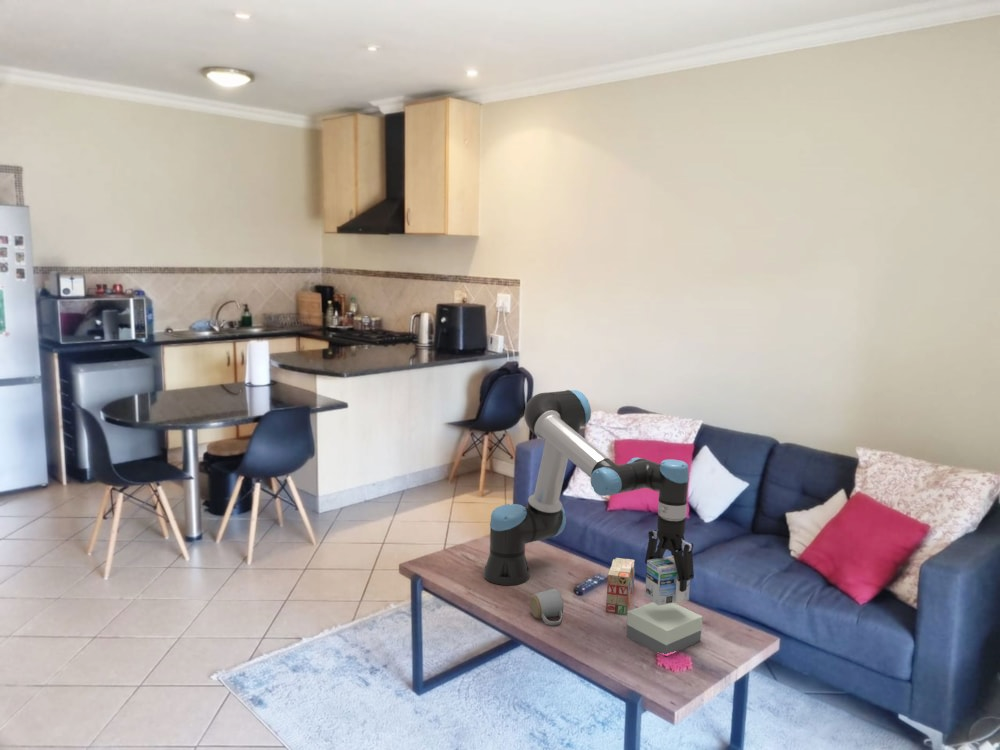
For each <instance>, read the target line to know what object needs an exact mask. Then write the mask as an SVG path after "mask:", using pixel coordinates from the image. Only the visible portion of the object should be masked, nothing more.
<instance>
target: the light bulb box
mask: <svg viewBox="0 0 1000 750" xmlns="http://www.w3.org/2000/svg"><path fill="white" fill-rule="evenodd" d="M645 572H646V574H645V575H646V576H645V590H644V591H645V592H644V597H646V598H648V600H650V601H651V602H654V603H655V604H657V605H658V606H659V605H665V604H671V603H675V604H677V603H676V602H675V596H676V580H677V579H679V576H678V572H677V568H676V564H675V560H674V557H673V556H672V555H671V556H665V557H662V558H658V559H651V560H647V564H646V571H645ZM690 585H691V580H688V581H687V588H686V591H684V601H681V602H685V601H687V602H688V601H690ZM681 602H680V603H681Z"/></svg>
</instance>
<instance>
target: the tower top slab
mask: <svg viewBox="0 0 1000 750" xmlns="http://www.w3.org/2000/svg"><path fill="white" fill-rule="evenodd" d="M703 618H704V616H703V615H701V614H698V613H696V612H694V611H693V610H690V609H687V608H685V607H684V606H681V605H679V604H678V603H671V604H665V605H659V606H658V605H657V604H655V603H654V602H653V601H651V602H649V603H646V604H644V605H641V606H639V607H636V608H633V609H630V610H628V611H627V622H626V623H627V624H626V626H627V625H629V626H631V627H633V628H634V629H636V630H638V631H640V632H642V633H644V634H646V635H648V636H650V637H651V638H653V639H655V640H657V641H659V642H661V643H663V644H665V645H668V644H670V643H673V642H675V641H677V640H680V639H682V638H684V637H687V636H689V635H691V634H694V633H696V632H698V631H701V632H702V629H703Z"/></svg>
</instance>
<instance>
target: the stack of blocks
mask: <svg viewBox="0 0 1000 750" xmlns="http://www.w3.org/2000/svg"><path fill="white" fill-rule="evenodd" d="M635 561H636V560H635V559H632V558H631V559H630V558H620V557H615V559H614V558H613V559H612V562H611V566H610V568H609V571H608V574H607V584H606V585H607V588H606V589H607V590H606V594H607V595H606V606H605V607H606V608H605V609H606V610H605V612H606V613H610V614H611V613H612V614H617V615H626V616H628V611H629V607H630V606H631V605H630V604H631V598H632V594H633V592H634V587H635V572H636V571H635Z"/></svg>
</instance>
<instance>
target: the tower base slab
mask: <svg viewBox="0 0 1000 750" xmlns="http://www.w3.org/2000/svg"><path fill="white" fill-rule="evenodd" d="M701 636H702V630H701V631H698V632H696V633H694V634H691V635H689V636H687V637H684V638H682V639H680V640H677V641H675V642H673V643H670V644H668V645H665V644H663V643H661V642H659V641H657V640H655V639H653V638H651V637H650V636H648V635H646V634H644V633H642V632H640V631H638V630H636V629H634V628H633V627H631V626H629V625H627V624H626V636H625V637H627V638H628V639H630V640H632V641H634V642H637V643H638V644H640V645H642V646H643V647H645V648H648V649H649V650H651V651H653V652H655V653H657V652H659V653H664V654H667V653H670V652H674V651H678V652H680V651H682V650H685V649H686V647H687V648H688V646H689V647H690V645H691V646H692V644H693V645H695V644H697V643H699V642H701ZM698 641H699V642H698ZM696 642H697V643H696ZM694 643H695V644H694ZM679 650H680V651H679ZM659 653H658V654H659Z"/></svg>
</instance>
